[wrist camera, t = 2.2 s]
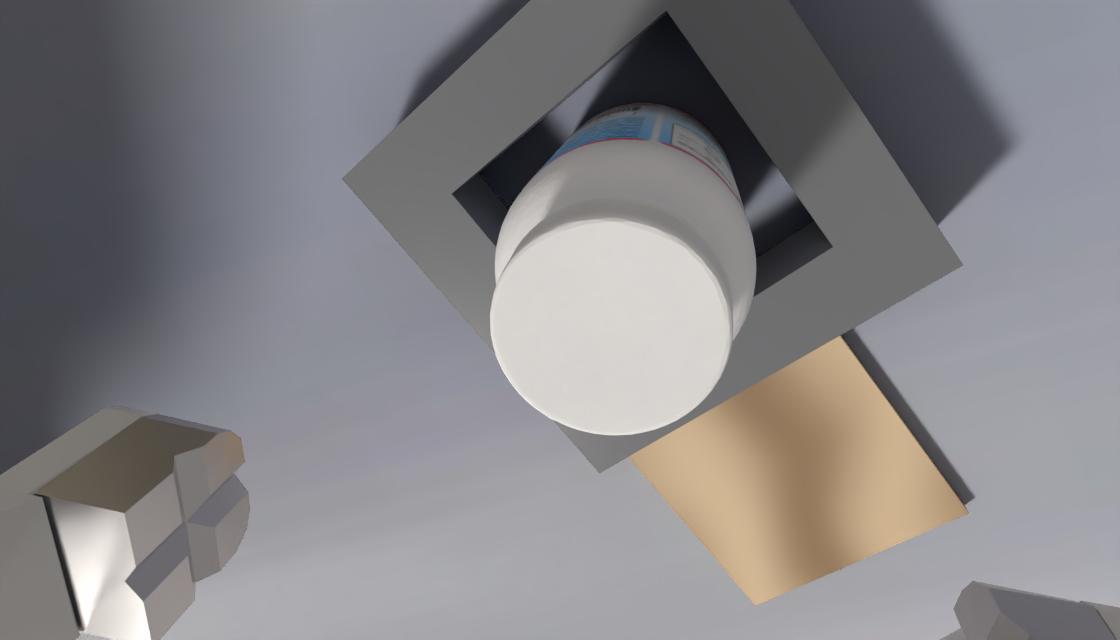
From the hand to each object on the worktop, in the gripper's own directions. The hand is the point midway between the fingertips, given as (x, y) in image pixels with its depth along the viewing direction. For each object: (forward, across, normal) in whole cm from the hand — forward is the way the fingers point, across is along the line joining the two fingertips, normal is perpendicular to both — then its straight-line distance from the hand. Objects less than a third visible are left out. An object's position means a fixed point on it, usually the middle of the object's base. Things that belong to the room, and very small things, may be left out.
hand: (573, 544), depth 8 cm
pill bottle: (+17, +1, 0) cm, 17 cm away
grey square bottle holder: (+17, +1, 0) cm, 17 cm away
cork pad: (+17, -6, +10) cm, 21 cm away
